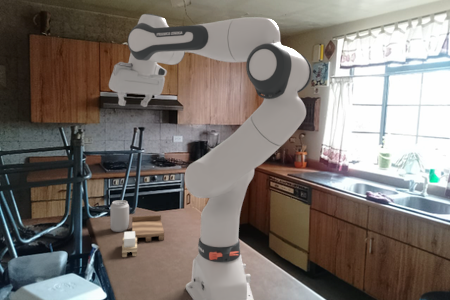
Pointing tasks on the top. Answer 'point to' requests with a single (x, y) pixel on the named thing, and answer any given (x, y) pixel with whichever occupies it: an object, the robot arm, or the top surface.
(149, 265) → the top surface
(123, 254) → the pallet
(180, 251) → the top surface
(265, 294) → the top surface
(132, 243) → the white rectangular block
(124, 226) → the can
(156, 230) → the dock
